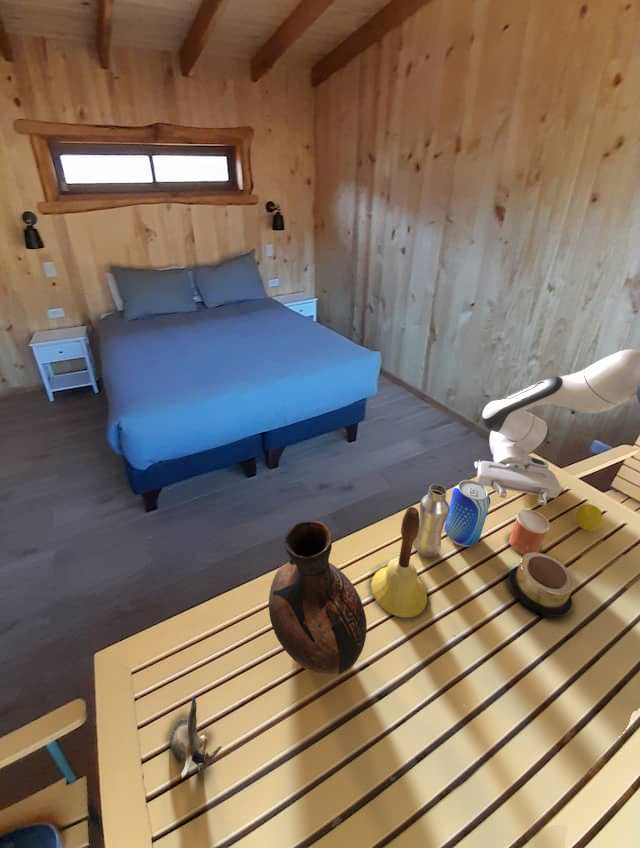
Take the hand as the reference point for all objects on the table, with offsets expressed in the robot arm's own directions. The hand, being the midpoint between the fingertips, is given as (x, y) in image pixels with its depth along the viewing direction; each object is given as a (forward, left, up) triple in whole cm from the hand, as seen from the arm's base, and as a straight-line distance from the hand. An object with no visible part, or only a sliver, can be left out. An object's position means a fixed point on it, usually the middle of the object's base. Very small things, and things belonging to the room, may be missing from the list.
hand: (522, 499), depth 106 cm
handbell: (+30, +30, -7) cm, 43 cm away
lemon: (-16, -1, -7) cm, 18 cm away
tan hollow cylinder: (0, +22, -7) cm, 23 cm away
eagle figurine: (+62, +68, -7) cm, 92 cm away
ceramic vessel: (+46, +46, -7) cm, 65 cm away
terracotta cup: (0, +9, -7) cm, 11 cm away
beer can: (+15, +10, -7) cm, 19 cm away
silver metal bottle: (+24, +17, -7) cm, 30 cm away
